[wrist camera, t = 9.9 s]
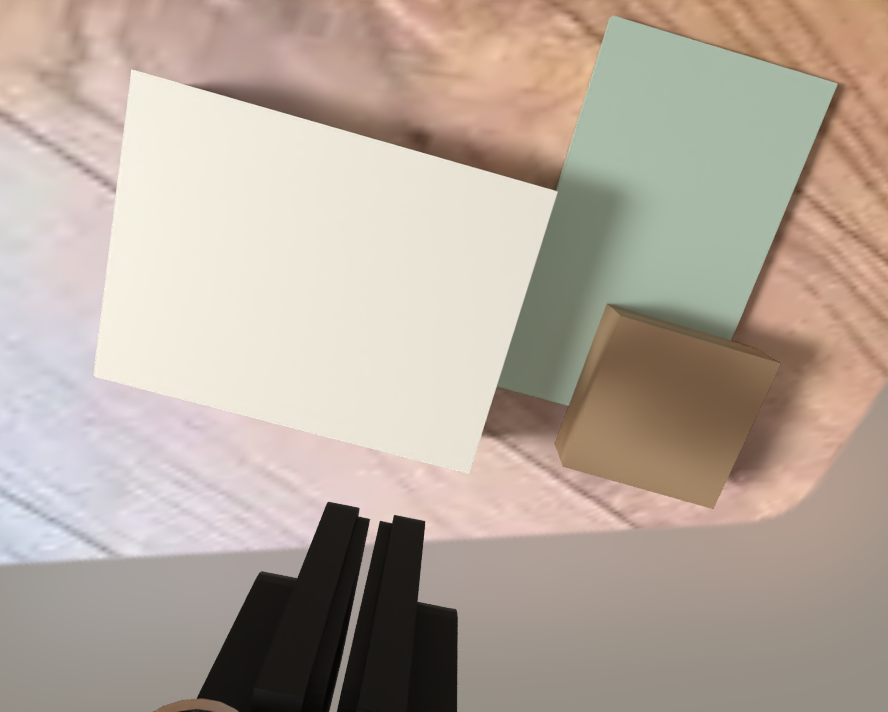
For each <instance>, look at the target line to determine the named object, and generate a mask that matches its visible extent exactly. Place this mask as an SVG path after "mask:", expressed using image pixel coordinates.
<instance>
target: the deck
mask: <svg viewBox="0 0 888 712" xmlns="http://www.w3.org/2000/svg"><path fill="white" fill-rule="evenodd" d="M557 193H558V191H554V190H551V189H547V188H544V187H540V186H537V185H533V184H530V183H526V182H523V181H519V180H516V179H512V178H509V177H505V176H502V175H498V174H495V173H491V172H488V171H484V170H481V169H477V168H474V167H470V166H467V165H463V164H460V163H456V162H453V161H449V160H446V159H442V158H439V157H435V156H432V155H428V154H425V153H421V152H418V151H415V150H411V149H408V148H404V147H401V146H397V145H394V144H390V143H387V142H383V141H380V140H376V139H373V138H369V137H366V136H362V135H359V134H355V133H352V132H348V131H345V130H341V129H338V128H334V127H331V126H327V125H324V124H320V123H317V122H313V121H310V120H306V119H303V118H299V117H296V116H292V115H289V114H285V113H282V112H278V111H275V110H271V109H268V108H264V107H261V106H257V105H254V104H250V103H247V102H243V101H240V100H236V99H233V98H229V97H226V96H222V95H219V94H215V93H212V92H208V91H205V90H201V89H198V88H194V87H191V86H187V85H184V84H180V83H177V82H173V81H170V80H166V79H163V78H159V77H156V76H152V75H149V74H145V73H142V72H138V71H135V70H131V78H130V86H129V94H128V102H127V110H126V118H125V126H124V134H123V142H122V150H121V158H120V166H119V174H118V182H117V190H116V198H115V206H114V214H113V222H112V230H111V238H110V246H109V254H108V262H107V270H106V278H105V286H104V294H103V302H102V310H101V319H100V327H99V335H98V343H97V351H96V359H95V367H94V375H93V376H94V377H97V378H101V379H105V380H109V381H113V382H117V383H121V384H124V385H128V386H132V387H136V388H140V389H144V390H147V391H151V392H155V393H159V394H163V395H167V396H171V397H174V398H178V399H182V400H186V401H190V402H194V403H197V404H201V405H205V406H209V407H213V408H217V409H220V410H224V411H228V412H232V413H236V414H240V415H244V416H247V417H251V418H255V419H259V420H263V421H267V422H270V423H274V424H278V425H282V426H286V427H290V428H294V429H297V430H301V431H305V432H309V433H313V434H317V435H320V436H324V437H328V438H332V439H336V440H340V441H344V442H347V443H351V444H355V445H359V446H363V447H367V448H370V449H374V450H378V451H382V452H386V453H390V454H393V455H397V456H401V457H405V458H409V459H413V460H417V461H420V462H424V463H428V464H432V465H436V466H440V467H443V468H447V469H451V470H455V471H459V472H463V473H467V474H469V473H470V470H471V466H472V463H473V460H474V457H475V454H476V450H477V447H478V444H479V441H480V438H481V435H482V431H483V428H484V425H485V422H486V419H487V415H488V412H489V409H490V406H491V403H492V400H493V396H494V393H495V390H496V387H497V384H498V380H499V377H500V374H501V371H502V368H503V365H504V361H505V358H506V355H507V352H508V349H509V345H510V342H511V339H512V336H513V333H514V329H515V326H516V323H517V320H518V317H519V314H520V310H521V307H522V304H523V301H524V298H525V294H526V291H527V288H528V285H529V282H530V279H531V275H532V272H533V269H534V266H535V263H536V259H537V256H538V253H539V250H540V247H541V244H542V240H543V237H544V234H545V231H546V228H547V224H548V221H549V218H550V215H551V212H552V208H553V205H554V202H555V199H556V196H557Z"/></svg>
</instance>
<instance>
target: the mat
mask: <svg viewBox="0 0 888 712" xmlns="http://www.w3.org/2000/svg"><path fill="white" fill-rule="evenodd" d="M837 85H838V83H835V82H831V81H828V80H825V79H821V78H818V77H815V76H811V75H808V74H805V73H801V72H798V71H795V70H792V69H788V68H785V67H782V66H778V65H775V64H772V63H768V62H765V61H762V60H759V59H755V58H752V57H749V56H745V55H742V54H739V53H735V52H732V51H729V50H725V49H722V48H719V47H716V46H712V45H709V44H706V43H702V42H699V41H696V40H692V39H689V38H686V37H683V36H679V35H676V34H673V33H669V32H666V31H663V30H659V29H656V28H653V27H649V26H646V25H643V24H640V23H636V22H633V21H630V20H626V19H623V18H620V17H616V16H612V17H611V18H610V19H609V21H608V25H607V28H606V31H605V34H604V37H603V41H602V44H601V47H600V50H599V53H598V57H597V60H596V63H595V66H594V69H593V73H592V76H591V79H590V82H589V85H588V89H587V92H586V95H585V98H584V101H583V105H582V108H581V111H580V114H579V117H578V120H577V124H576V127H575V130H574V133H573V136H572V140H571V143H570V146H569V149H568V152H567V156H566V159H565V162H564V165H563V168H562V172H561V175H560V178H559V181H558V184H557V188H556V191H558V193H557V196H556V199H555V202H554V205H553V208H552V212H551V215H550V218H549V221H548V224H547V228H546V231H545V234H544V237H543V240H542V244H541V247H540V250H539V253H538V256H537V259H536V263H535V266H534V269H533V272H532V275H531V279H530V282H529V285H528V288H527V291H526V294H525V298H524V301H523V304H522V307H521V310H520V314H519V317H518V320H517V323H516V326H515V329H514V333H513V336H512V339H511V342H510V345H509V349H508V352H507V355H506V358H505V361H504V365H503V368H502V371H501V374H500V377H499V380H498V384H497V387H500V388H503V389H507V390H511V391H515V392H518V393H522V394H526V395H530V396H533V397H537V398H541V399H544V400H548V401H552V402H556V403H559V404H563V405H567V406H569V403H570V401H571V398H572V395H573V393H574V390H575V387H576V385H577V382H578V379H579V377H580V374H581V371H582V369H583V366H584V363H585V361H586V358H587V355H588V353H589V350H590V347H591V344H592V342H593V339H594V336H595V334H596V331H597V328H598V326H599V323H600V320H601V318H602V315H603V312H604V310H605V307H606V304H610V305H613V306H617V307H620V308H623V309H627V310H630V311H633V312H637V313H640V314H643V315H647V316H650V317H653V318H657V319H660V320H663V321H667V322H670V323H673V324H677V325H680V326H683V327H687V328H690V329H693V330H697V331H700V332H703V333H707V334H710V335H714V336H717V337H720V338H724V339H727V340H730V341H731V340H732V338H733V335H734V333H735V330H736V328H737V326H738V323H739V321H740V318H741V316H742V313H743V311H744V309H745V306H746V304H747V301H748V299H749V297H750V294H751V292H752V289H753V287H754V285H755V282H756V280H757V277H758V275H759V272H760V270H761V268H762V265H763V263H764V260H765V258H766V256H767V253H768V251H769V248H770V246H771V244H772V241H773V239H774V236H775V234H776V232H777V229H778V227H779V224H780V222H781V219H782V217H783V215H784V212H785V210H786V207H787V205H788V203H789V200H790V198H791V195H792V193H793V191H794V188H795V186H796V183H797V181H798V179H799V176H800V174H801V171H802V169H803V166H804V164H805V162H806V159H807V157H808V154H809V152H810V150H811V147H812V145H813V142H814V140H815V138H816V135H817V133H818V130H819V128H820V126H821V123H822V121H823V118H824V116H825V113H826V111H827V109H828V106H829V104H830V101H831V99H832V97H833V94H834V92H835V89H836V87H837Z"/></svg>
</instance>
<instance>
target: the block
mask: <svg viewBox="0 0 888 712" xmlns="http://www.w3.org/2000/svg"><path fill="white" fill-rule="evenodd" d="M780 365H781V363H779V362H777V361H776V360H774V359H772V358H771V357H769V356H767V355H766V354H764V353H762V352H761V351H759V350H757V349H755V348H754V347H750V346H747V345H744V344H740V343H737V342H734V341H730V340H727V339H724V338H720V337H717V336H714V335H710V334H707V333H703V332H700V331H697V330H693V329H690V328H687V327H683V326H680V325H677V324H673V323H670V322H667V321H663V320H660V319H657V318H653V317H650V316H647V315H643V314H640V313H637V312H633V311H630V310H627V309H623V308H620V307H617V306H613V305H610V304H606V307H605V310H604V312H603V315H602V318H601V320H600V323H599V326H598V328H597V331H596V334H595V336H594V339H593V342H592V344H591V347H590V350H589V353H588V355H587V358H586V361H585V363H584V366H583V369H582V371H581V374H580V377H579V379H578V382H577V385H576V387H575V390H574V393H573V395H572V398H571V401H570V403H569V406H568V409H567V411H566V414H565V417H564V419H563V422H562V425H561V427H560V430H559V433H558V435H557V438H556V441H555V445H556V448H557V451H558V454H559V457H560V460H561V462H562V465H563V467H566V468H570V469H574V470H577V471H581V472H584V473H588V474H591V475H595V476H598V477H602V478H605V479H609V480H612V481H616V482H620V483H623V484H627V485H630V486H634V487H637V488H641V489H644V490H648V491H651V492H655V493H658V494H662V495H666V496H669V497H673V498H676V499H680V500H683V501H687V502H690V503H694V504H697V505H701V506H704V507H708V508H712V509H714V507H715V504H716V502H717V500H718V498H719V496H720V494H721V491H722V489H723V487H724V485H725V483H726V481H727V479H728V476H729V474H730V472H731V470H732V468H733V466H734V464H735V461H736V459H737V457H738V455H739V453H740V451H741V448H742V446H743V444H744V442H745V440H746V438H747V436H748V433H749V431H750V429H751V427H752V425H753V423H754V421H755V418H756V416H757V414H758V412H759V410H760V408H761V405H762V403H763V401H764V399H765V397H766V395H767V393H768V390H769V388H770V386H771V384H772V382H773V380H774V377H775V375H776V373H777V371H778V369H779V367H780Z"/></svg>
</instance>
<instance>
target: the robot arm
mask: <svg viewBox="0 0 888 712" xmlns="http://www.w3.org/2000/svg"><path fill="white" fill-rule="evenodd" d="M358 515H359V508H357V507H352V506H347V505H342V504H337V503H332V502H328V503H327V505H326V507H325V510H324V512H323V515H322V517H321V520H320V522H319V525H318V527H317V530H316V532H315V535H314V537H313V540H312V543H311V545H310V548H309V550H308V553H307V555H306V558H305V560H304V563H303V565H302V568H301V570H300V573H299V576H298V578H293V577H288V576H283V575H278V574H273V573H267V572H260V573H259V575H258V576H257V578H256V580H255V582H254V584H253V586H252V588H251V590H250V592H249V594H248V596H247V598H246V600H245V602H244V604H243V606H242V608H241V610H240V612H239V614H238V616H237V618H236V620H235V622H234V624H233V626H232V628H231V630H230V632H229V634H228V636H227V638H226V640H225V642H224V644H223V646H222V648H221V651H220V653H219V654H218V657H217V658H216V660H215V663H214V664H213V666H212V668H211V670H210V672H209V675H208V677H207V679H206V681H205V683H204V685H203V687H202V689H201V691H200V693H199V695H198V697H197V699H190V700H181V701H178V702H175V703H171V704H168V705H165V706H162V707H161V708H159V709H157V710H156V711H154V712H329V710H330V706H331V702H332V698H333V693H334V689H335V685H336V681H337V677H338V672H339V668H340V664H341V660H342V655H343V650H344V645H345V641H346V635H347V631H348V626H349V620H350V616H351V611H352V606H353V601H354V596H355V591H356V586H357V581H358V576H359V571H360V566H361V562H362V557H363V552H364V547H365V542H366V537H367V532H368V527H369V522H370V519H368V518H363V517H358ZM424 530H425V521H422V520H417V519H412V518H407V517H402V516H397V515H394V518H393V522H392V523H388V522H383V521H380V523H379V528H378V532H377V536H376V541H375V545H374V550H373V554H372V558H371V563H370V568H369V572H368V576H367V580H366V585H365V589H364V594H363V599H362V603H361V607H360V611H359V616H358V620H357V625H356V629H355V633H354V638H353V643H352V647H351V651H350V656H349V660H348V665H347V669H346V673H345V678H344V682H343V686H342V691H341V696H340V700H339V705H338V709H337V712H457V635H458V632H457V630H458V629H457V627H458V624H457V623H458V617H457V610H456V609H451V608H446V607H441V606H436V605H431V604H426V603H421V602H417V601H418V591H419V581H420V570H421V560H422V550H423V540H424Z"/></svg>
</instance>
